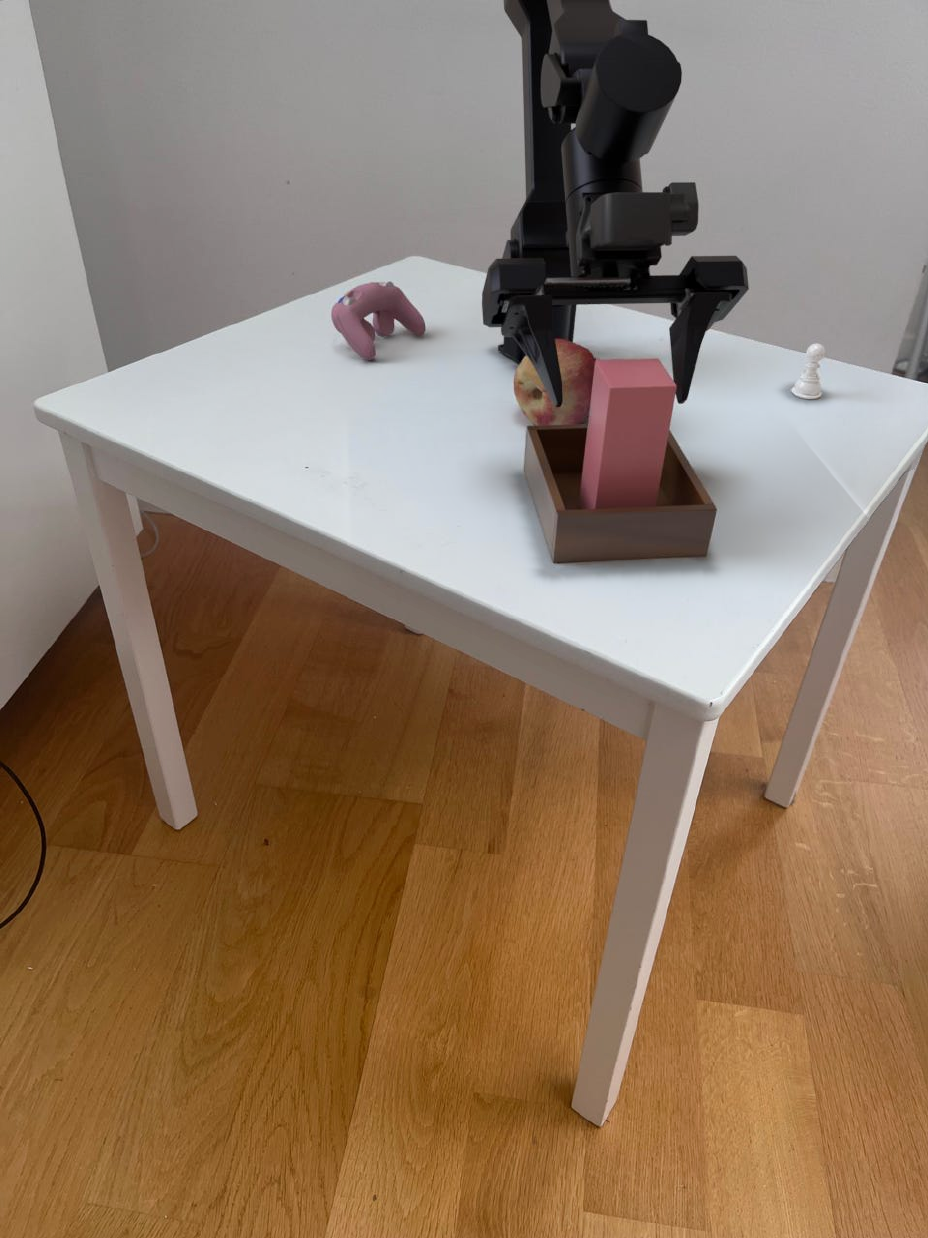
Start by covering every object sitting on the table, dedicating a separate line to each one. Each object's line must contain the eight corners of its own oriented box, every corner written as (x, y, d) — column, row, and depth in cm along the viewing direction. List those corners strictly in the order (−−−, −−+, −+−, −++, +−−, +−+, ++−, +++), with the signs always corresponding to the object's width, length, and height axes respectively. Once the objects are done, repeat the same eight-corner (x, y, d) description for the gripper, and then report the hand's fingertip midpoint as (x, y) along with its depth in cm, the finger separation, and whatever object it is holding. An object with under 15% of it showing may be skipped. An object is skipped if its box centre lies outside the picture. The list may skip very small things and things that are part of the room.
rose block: (578, 505, 74) (595, 359, 66) (635, 503, 74) (658, 357, 67) (590, 538, 70) (610, 387, 63) (651, 535, 70) (677, 385, 63)
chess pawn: (802, 401, 91) (815, 351, 88) (785, 389, 93) (797, 340, 90) (826, 397, 92) (840, 348, 89) (809, 385, 94) (822, 337, 91)
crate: (522, 478, 78) (526, 425, 75) (656, 473, 79) (664, 421, 76) (552, 571, 68) (557, 515, 65) (705, 564, 69) (717, 508, 66)
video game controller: (402, 340, 104) (379, 277, 102) (432, 331, 101) (408, 265, 99) (343, 369, 98) (316, 302, 96) (372, 360, 95) (345, 291, 92)
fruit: (502, 412, 88) (506, 328, 83) (580, 405, 89) (589, 322, 84) (527, 452, 82) (533, 364, 77) (610, 443, 83) (621, 357, 78)
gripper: (493, 132, 61) (509, 363, 59) (769, 133, 63) (793, 356, 61) (475, 224, 72) (488, 421, 70) (710, 222, 74) (729, 414, 72)
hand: (621, 403), depth 68 cm, fingers open, 9 cm apart
